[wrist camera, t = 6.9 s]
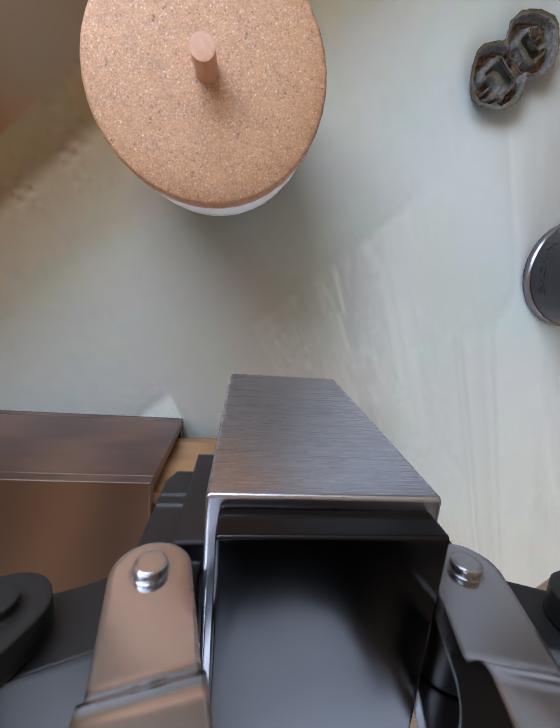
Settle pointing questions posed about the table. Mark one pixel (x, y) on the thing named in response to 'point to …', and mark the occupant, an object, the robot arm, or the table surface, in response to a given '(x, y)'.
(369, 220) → the table surface
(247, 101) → the lidded bowl
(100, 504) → the cabinet
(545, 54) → the corroded twin loop
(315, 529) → the brushed metal box
